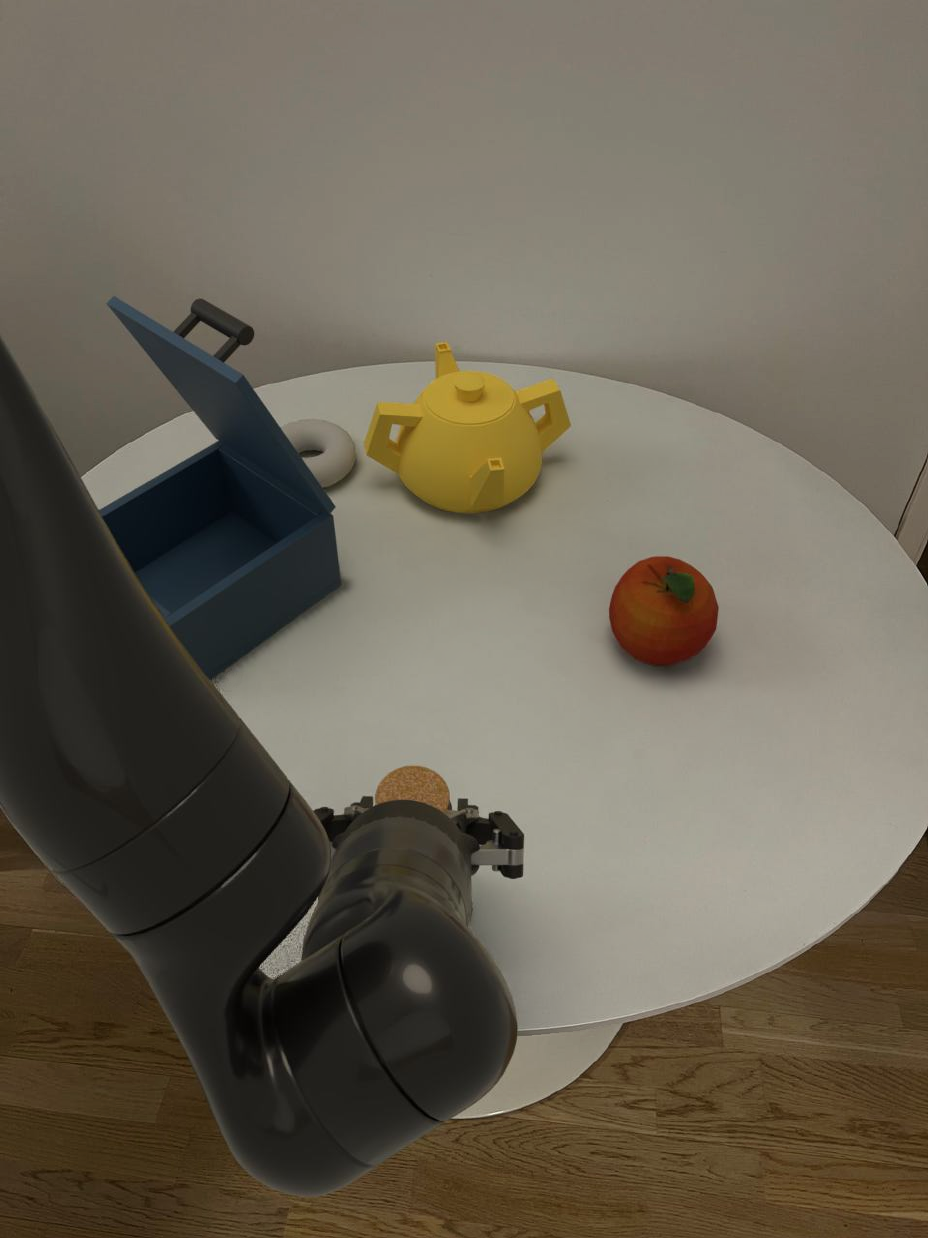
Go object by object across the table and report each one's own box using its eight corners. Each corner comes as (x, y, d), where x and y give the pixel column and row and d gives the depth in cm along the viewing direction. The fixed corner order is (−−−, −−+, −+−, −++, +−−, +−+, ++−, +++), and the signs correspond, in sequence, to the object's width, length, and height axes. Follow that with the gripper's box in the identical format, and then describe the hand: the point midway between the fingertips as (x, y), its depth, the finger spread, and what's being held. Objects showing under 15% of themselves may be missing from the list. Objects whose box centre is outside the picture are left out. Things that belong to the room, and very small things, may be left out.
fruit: (686, 597, 96) (705, 519, 88) (724, 673, 90) (749, 596, 82) (590, 612, 94) (601, 534, 87) (622, 691, 88) (637, 614, 81)
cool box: (190, 694, 87) (169, 626, 81) (84, 604, 94) (56, 533, 88) (341, 585, 96) (333, 515, 90) (234, 509, 104) (219, 439, 97)
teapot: (358, 489, 106) (350, 394, 97) (442, 408, 115) (441, 315, 106) (497, 547, 100) (501, 452, 91) (572, 457, 110) (583, 363, 101)
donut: (291, 510, 104) (374, 473, 107) (287, 484, 101) (372, 448, 105) (248, 458, 109) (329, 426, 113) (243, 433, 107) (325, 400, 110)
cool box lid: (235, 383, 73) (283, 331, 74) (105, 303, 80) (151, 256, 81) (329, 514, 89) (367, 470, 90) (215, 438, 96) (252, 398, 97)
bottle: (459, 941, 72) (462, 834, 61) (377, 946, 72) (365, 839, 61) (454, 868, 76) (456, 755, 65) (376, 872, 76) (365, 759, 65)
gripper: (541, 821, 51) (522, 759, 68) (257, 815, 51) (309, 754, 68) (537, 967, 51) (519, 869, 68) (255, 960, 51) (307, 864, 68)
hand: (414, 812), depth 68 cm, fingers closed on bottle, 5 cm apart
